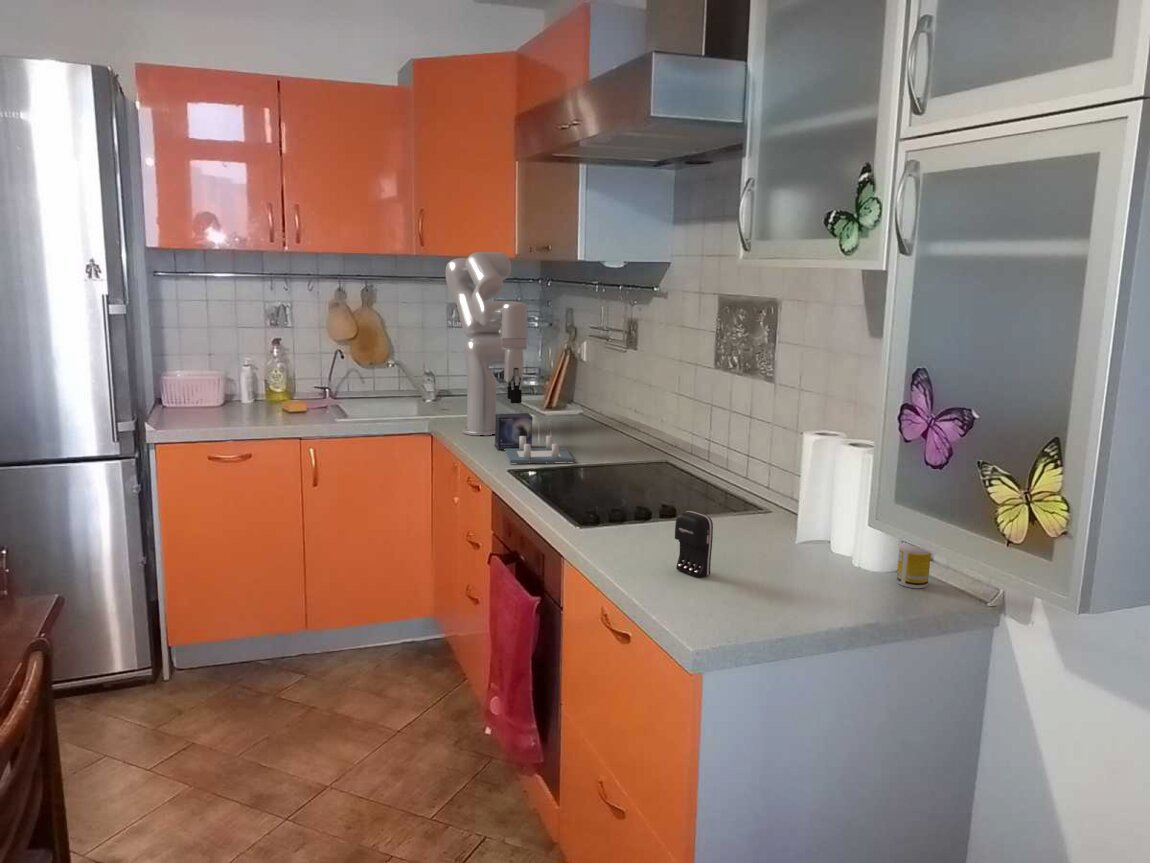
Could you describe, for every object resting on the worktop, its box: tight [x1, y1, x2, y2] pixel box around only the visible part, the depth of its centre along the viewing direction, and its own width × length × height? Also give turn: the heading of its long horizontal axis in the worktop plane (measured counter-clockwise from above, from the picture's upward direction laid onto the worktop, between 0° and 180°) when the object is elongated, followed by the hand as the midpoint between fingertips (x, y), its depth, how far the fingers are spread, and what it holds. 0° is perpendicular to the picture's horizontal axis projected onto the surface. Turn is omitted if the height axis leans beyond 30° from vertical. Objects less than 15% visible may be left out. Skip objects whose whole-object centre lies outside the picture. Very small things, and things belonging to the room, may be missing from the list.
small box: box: [494, 412, 533, 451], centre depth 276 cm, size 11×6×10 cm, turn 105°
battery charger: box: [674, 510, 714, 578], centre depth 168 cm, size 7×4×11 cm, turn 40°
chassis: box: [504, 435, 574, 464], centre depth 264 cm, size 16×18×5 cm
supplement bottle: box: [896, 541, 932, 590], centre depth 165 cm, size 5×5×10 cm
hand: (514, 401), depth 274 cm, fingers open, 9 cm apart
